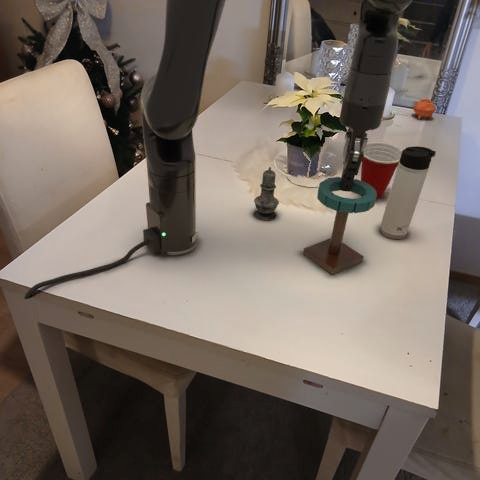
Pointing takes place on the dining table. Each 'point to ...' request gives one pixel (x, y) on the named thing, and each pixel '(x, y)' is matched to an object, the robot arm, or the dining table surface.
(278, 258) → the dining table surface
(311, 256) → the post
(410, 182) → the travel mug
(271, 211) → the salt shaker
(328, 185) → the ring
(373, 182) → the plastic cup
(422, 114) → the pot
